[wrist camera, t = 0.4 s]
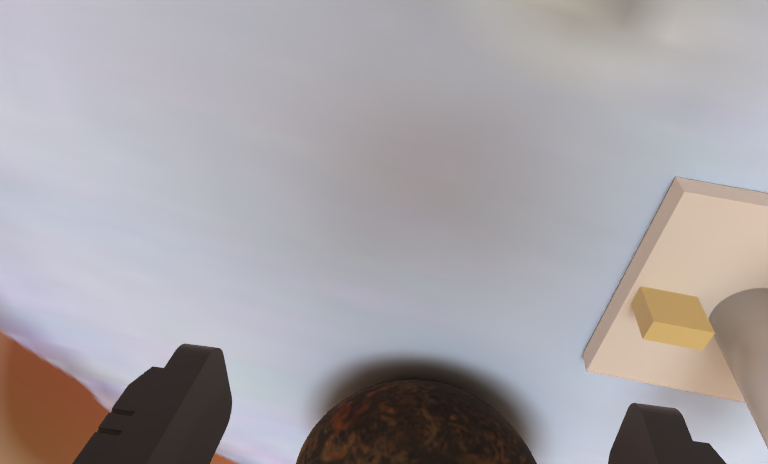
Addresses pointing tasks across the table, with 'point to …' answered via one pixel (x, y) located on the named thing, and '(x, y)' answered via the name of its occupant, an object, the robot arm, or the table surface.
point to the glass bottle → (413, 429)
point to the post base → (695, 300)
